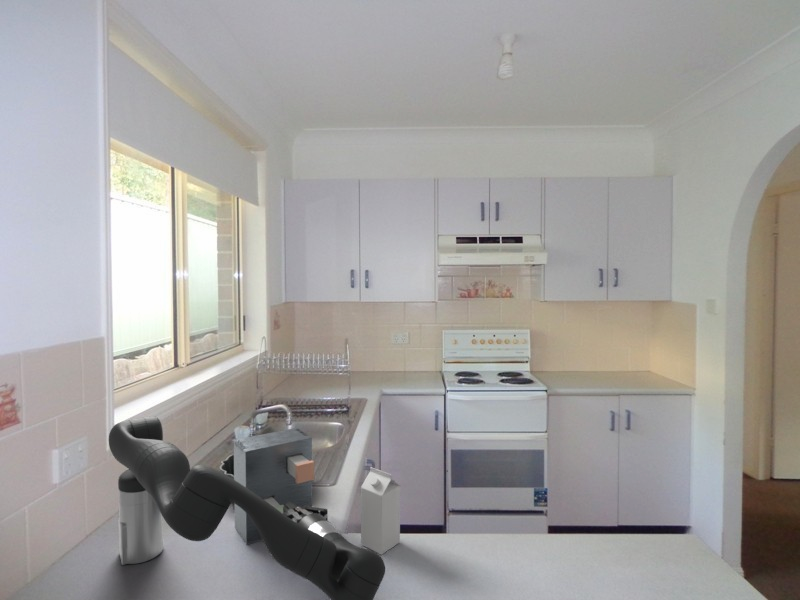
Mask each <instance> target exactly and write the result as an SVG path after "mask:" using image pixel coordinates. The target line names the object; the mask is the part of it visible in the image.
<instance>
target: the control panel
mask: <svg viewBox="0 0 800 600" xmlns="http://www.w3.org/2000/svg"><path fill="white" fill-rule="evenodd" d="M312 444H313V437H312V436H310V435H309V434H307V433H306V432H304V431H303V430H301V429H300V428H298V427H294V428H287V429H283V430H279V431H273V432H267V433H264V434H259V435H258V434H257V435H252V436H247V437H242V438H238V439H233V454H234V480H235V481H237V482H238V483H240V484H241V485H243V486H244V487H246V488H247V489H249V490H250V491H252V492H253V493H255V494H256V495H258V496H259V497H260V498H262V499H263V498H266V497H270V496H272V497H273V498H274V499H275V500H276V501H277V502H278V504H279V505H284V504H286V503H289V502H291V503H292V504H295V505H296V506H297V507H300V508H301V509H303V508H304V506H310V507H313V480H310V481H306V482H302V483H299V484H297V483H296V479H295V478H294V477H293V476H292V475H291V474H290V473H288V472H287V471H286V457H288V456H292V455H296V454H301V455H302V456H303V457H305V458H306V459H307V460H309V461H311V460H313V445H312ZM233 504H234V528H235V530H236V531H237V533H238V534H239V536H240V537H241V539H242V540H243V542H244V543H245V544H246V545H249V544H253V543H257V542H259V541H263V539H262V537H261V535H260V533H259V531H258V529H257V527H256V526H255V524H254V523H253V521H252V519H251V518H250V517H249V515H248V514H247V513H246V512H245V511H244V510H243V509H242V508H240V507H239V506H238V505H236V504H235V503H233ZM310 512H311V513H312V511H309V513H310Z"/></svg>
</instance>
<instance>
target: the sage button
mask: <svg viewBox="0 0 800 600" xmlns="http://www.w3.org/2000/svg"><path fill="white" fill-rule="evenodd" d="M263 500H265V501H266V502H268V503H269V504H270V505H272V506H273V507H274V508H276V509H277V510H278V511H280V512H281V513H283V506H284V505H279V504H278V502H277V501H276V500H275V499H274V498H273V497H272V496H270V497H266V498H263Z"/></svg>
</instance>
